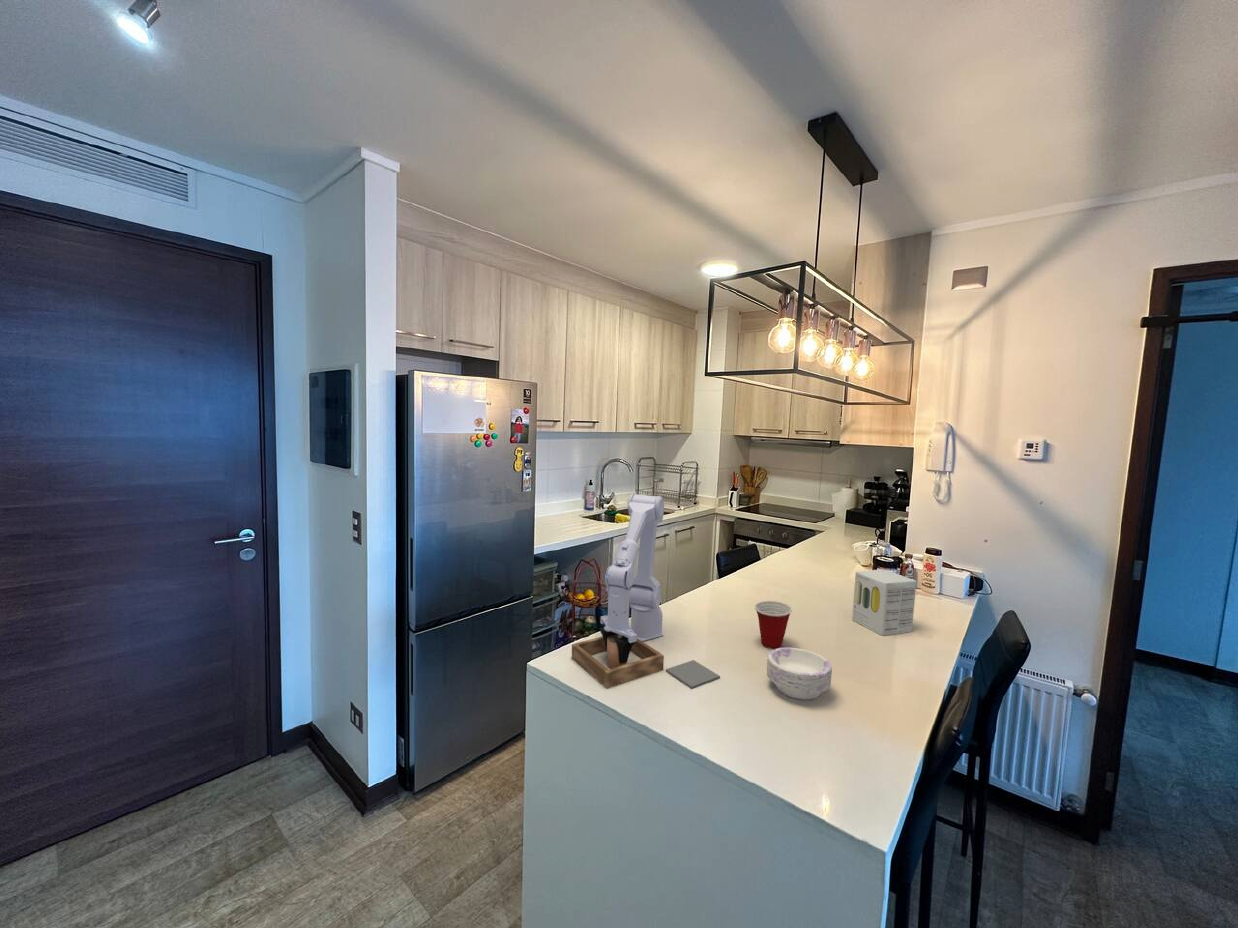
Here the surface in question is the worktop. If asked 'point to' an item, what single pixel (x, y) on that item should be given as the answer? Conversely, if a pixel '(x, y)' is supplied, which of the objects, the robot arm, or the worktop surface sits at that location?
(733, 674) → the worktop surface
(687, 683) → the slate pad
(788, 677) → the paper bowls
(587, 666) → the brown wooden square frame
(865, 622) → the supplement box
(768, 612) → the plastic cup
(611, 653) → the terracotta pot
